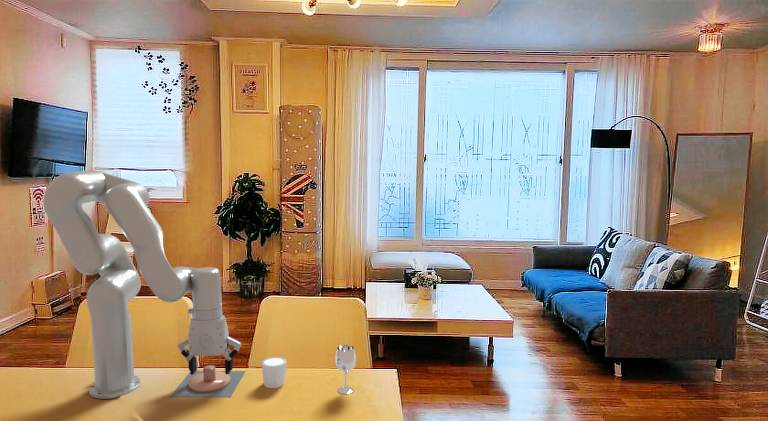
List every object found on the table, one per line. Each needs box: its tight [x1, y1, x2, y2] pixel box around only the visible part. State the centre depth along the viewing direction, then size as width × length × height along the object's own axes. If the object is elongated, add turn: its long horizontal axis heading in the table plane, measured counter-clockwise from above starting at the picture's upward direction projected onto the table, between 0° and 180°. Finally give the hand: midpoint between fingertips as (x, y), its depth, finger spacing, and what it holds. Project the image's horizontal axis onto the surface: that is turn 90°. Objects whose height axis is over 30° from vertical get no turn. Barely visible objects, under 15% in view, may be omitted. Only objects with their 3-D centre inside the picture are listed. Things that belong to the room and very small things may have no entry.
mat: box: [169, 370, 246, 398], centre depth 145 cm, size 16×16×1 cm
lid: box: [189, 364, 230, 392], centre depth 145 cm, size 11×11×4 cm
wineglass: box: [334, 344, 357, 395], centre depth 142 cm, size 6×6×12 cm
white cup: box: [261, 356, 287, 389], centre depth 145 cm, size 7×7×7 cm
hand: (211, 372), depth 145 cm, fingers open, 9 cm apart
